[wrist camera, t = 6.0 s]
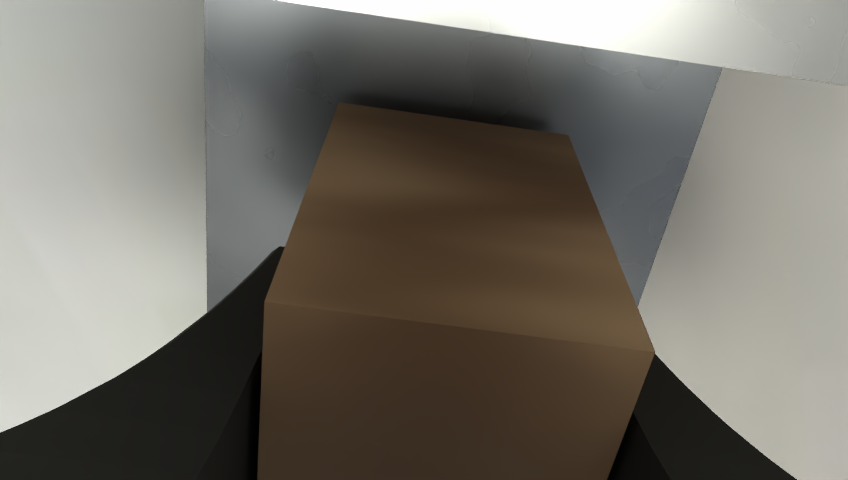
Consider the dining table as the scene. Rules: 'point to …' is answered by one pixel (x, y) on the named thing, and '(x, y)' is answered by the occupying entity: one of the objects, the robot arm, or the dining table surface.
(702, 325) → the dining table surface
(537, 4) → the vise
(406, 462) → the block
